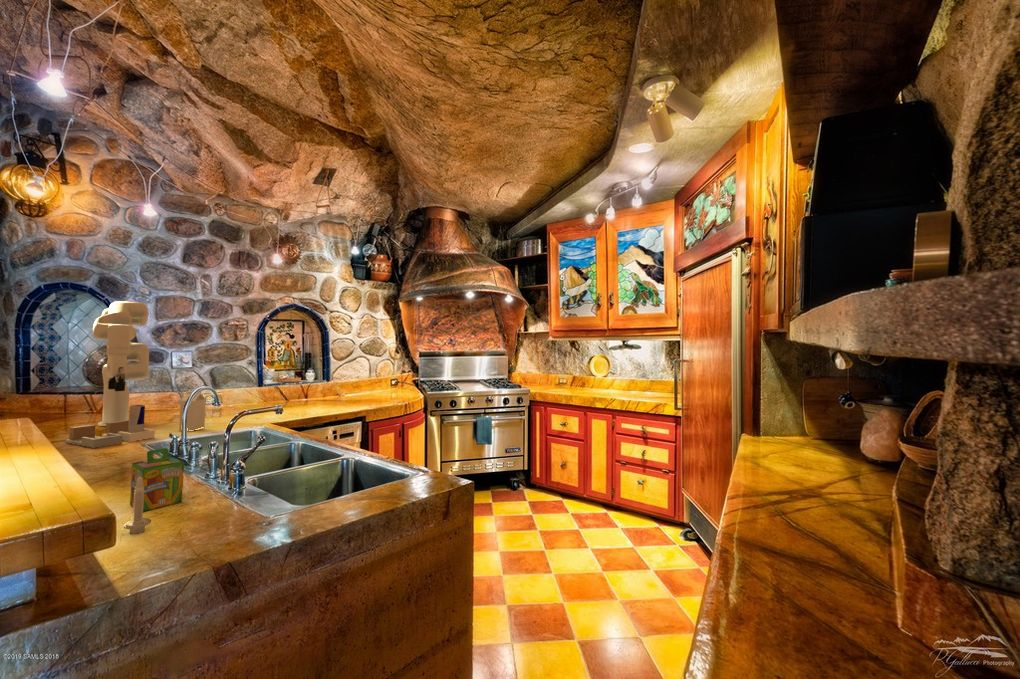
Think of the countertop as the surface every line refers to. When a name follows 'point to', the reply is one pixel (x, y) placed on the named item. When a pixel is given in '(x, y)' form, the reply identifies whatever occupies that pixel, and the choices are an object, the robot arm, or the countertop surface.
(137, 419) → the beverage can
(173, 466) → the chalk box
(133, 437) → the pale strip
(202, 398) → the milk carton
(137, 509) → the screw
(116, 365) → the robot arm
